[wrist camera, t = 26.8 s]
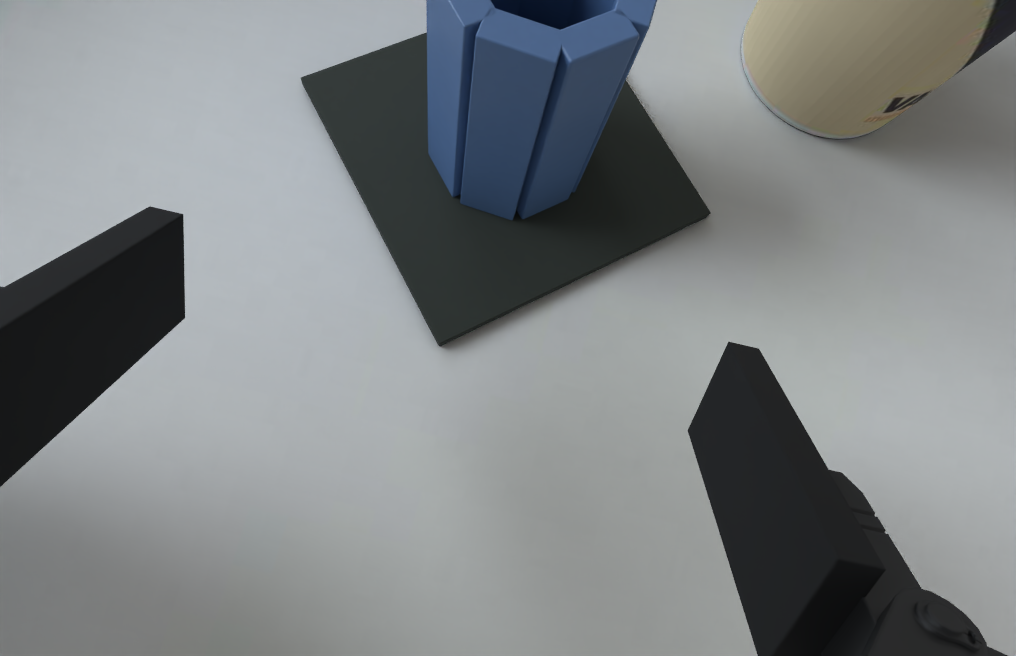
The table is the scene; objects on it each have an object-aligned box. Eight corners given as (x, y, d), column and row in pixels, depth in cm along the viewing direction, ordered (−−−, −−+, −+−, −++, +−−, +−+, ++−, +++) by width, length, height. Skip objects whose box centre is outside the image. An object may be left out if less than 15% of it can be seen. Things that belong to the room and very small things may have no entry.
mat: (302, 83, 25) (300, 77, 25) (561, -10, 28) (563, -18, 28) (438, 347, 23) (439, 344, 23) (707, 217, 26) (711, 212, 25)
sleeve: (405, 112, 25) (391, -96, 16) (538, 61, 26) (589, -156, 18) (476, 241, 24) (501, 90, 15) (611, 180, 25) (703, 10, 17)
